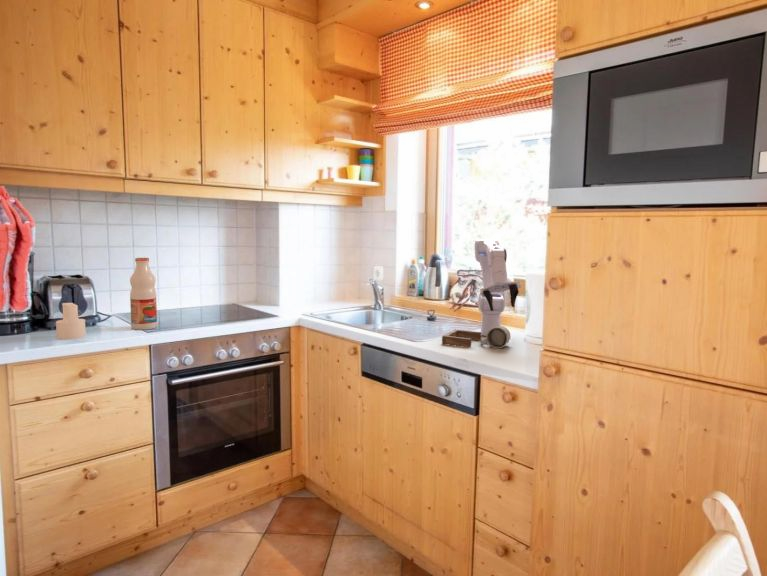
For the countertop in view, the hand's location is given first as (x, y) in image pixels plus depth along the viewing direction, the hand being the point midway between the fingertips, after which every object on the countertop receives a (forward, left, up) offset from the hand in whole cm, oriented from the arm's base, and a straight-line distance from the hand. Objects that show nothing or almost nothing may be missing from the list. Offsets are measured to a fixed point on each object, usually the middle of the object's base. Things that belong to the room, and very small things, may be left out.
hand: (502, 307), depth 181 cm
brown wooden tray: (-1, -14, -14) cm, 20 cm away
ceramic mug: (-1, -2, -15) cm, 15 cm away
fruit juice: (+43, -133, -15) cm, 141 cm away
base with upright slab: (+68, -140, -15) cm, 156 cm away
